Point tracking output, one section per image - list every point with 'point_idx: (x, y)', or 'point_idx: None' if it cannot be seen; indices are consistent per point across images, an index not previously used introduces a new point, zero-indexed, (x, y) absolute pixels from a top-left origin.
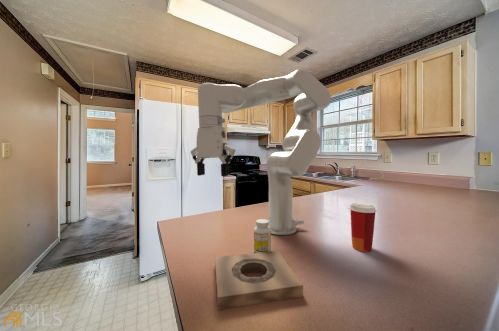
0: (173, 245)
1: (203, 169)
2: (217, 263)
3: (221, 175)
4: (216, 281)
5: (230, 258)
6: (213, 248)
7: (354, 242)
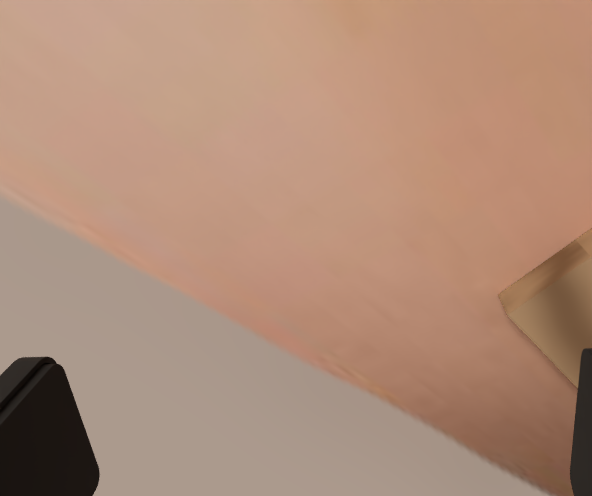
0: (171, 251)
1: (14, 457)
2: (550, 347)
3: (575, 487)
4: None
5: (584, 291)
6: (376, 172)
7: None
